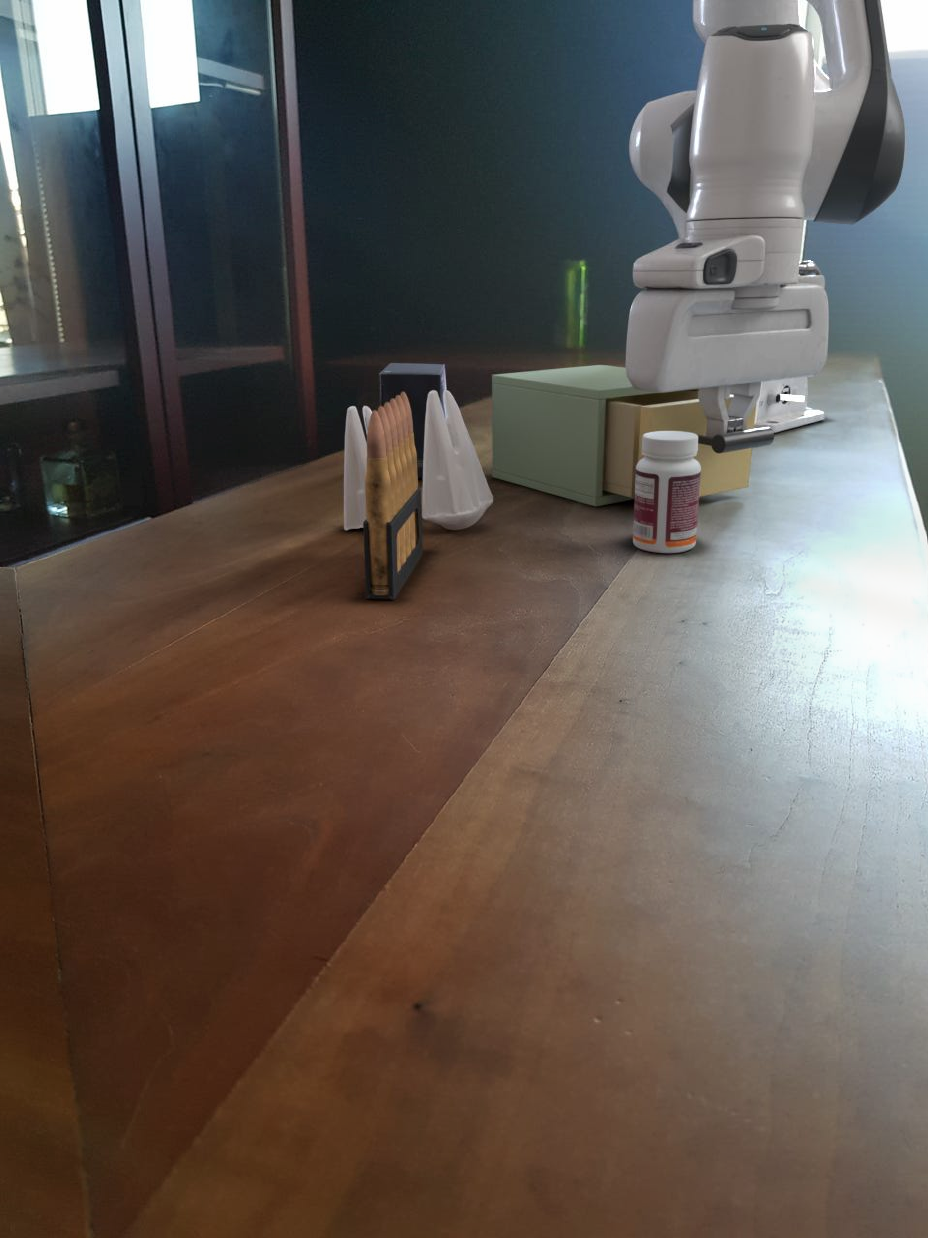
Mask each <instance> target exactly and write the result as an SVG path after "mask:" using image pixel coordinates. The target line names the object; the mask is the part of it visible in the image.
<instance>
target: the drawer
mask: <svg viewBox="0 0 928 1238" xmlns="http://www.w3.org/2000/svg"><path fill="white" fill-rule="evenodd" d="M698 391H699V390H692V389H691V390H683V391H674V392H665V393H652V394H644V395H635V396H627V397H618V398H610V399H605V400H606V407H605V434H604V460H603V486H602V490H604V491H608V492H611V493H615V494H619V495H623V496H626V497H630V498H633V497H635V480H636V479H635V477H636V466H637V464H638V462H639V461H640V460H641V459H643V458H644V457H645V456H644V455H643V454H642V436H643V435H644V434H646V433H649V432H656V431H683V432H690V433H694V434H696V435H698V451H697V455H696V456H694V457H693V458H694V459H695V460H697V461H698V462H699V464H700V466H701V478H700V490H699V498H703V497H705V496H706V497H707V496H711V495H716V494H721V493H726V492H730V491H736V490H741V489H745V488H749V486H750V475H751V465H752V455H753V454H752V453H753V449H754V448H759V447H764V446H765V447H766V446H769V445H772V443H773V442H774V441H775V433H774V432H773V430H772V429H771V428H769V427H763V428H757V429H754V423H755V413H756V404H755V406H754V408H753V410H752V412H751V414H750V416H749V417H748V419H747V429H746V430H744V431H738V432H731V433H725V434H718V435H715V436H714V437H708V436H706V428H707V418H706V417H705V414H704V412H703V409H702V407H701V404H700V402H699V399H698ZM732 398H733V395H730V398H729V399H724V401H725V405H726V409H727V410H728V408H729V405H730V403H731V400H732Z"/></svg>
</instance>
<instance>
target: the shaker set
mask: <svg viewBox="0 0 928 1238" xmlns="http://www.w3.org/2000/svg"><path fill="white" fill-rule="evenodd" d="M443 401H444V409H445V416H446V419H445V416H444V413H443V409H442V406H441V402H440V399H439V396H438V393H437V391H435V390H433V391H430V392H429V393H428V398H427V405H426V417H425V437H424V460H423V478H422V494H421V509H422V520H425V521H426V522H431V523H433V524H436V525H439V526H440V527H442V528H444V529H446V530H450V531H460V530H465V529H468V528H469V527H471V526H473V525H475V524H476V523H477V522H478V521H480V519H481V518H482V517H483V515H484V514H485V512H486V511H487V509H488V508H489V507H490V506H491V505H492V504H493V503H494V496H493V493H492V491H491V488H490V487H489V484H488V481H487V478H486V476H485V473H484V471H483V467H482V464H481V462H480V459H479V456H478V454H477V451H476V448H475V446H474V444H473V441H472V439H471V436H470V434H469V431H468V429H467V426H466V424H465V421H464V418H463V416H462V413H461V410H460V407H459V405H458V403H457V401H456V400H455V397H454V396H453V394H452V393H451V391H449V390H447V389H446V390H445V391H444V392H443ZM372 411H373V410H371V408H370V407H369V406H367V405H363V407H362V416H363V422H364V427H365V431H366V434H367V431H368V425H369V420H370V416H371V414H372ZM345 417H346V418H345V431H344V456H343V457H344V462H343V463H344V464H343V530H344V531H349V530H353V529H356V530H359V529H360V528H361V529H362V528H363V522H364V521H365V520H366V519H367V518H366V496H365V477H366V470H367V439H366V437H365V432H364V429H363V425H362V422H361V418H360V415H359V412H358V409H357V407H356V406H355V405H352V406H349V407H348V408H347V410H346V416H345Z"/></svg>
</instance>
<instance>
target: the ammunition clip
mask: <svg viewBox="0 0 928 1238" xmlns="http://www.w3.org/2000/svg"><path fill="white" fill-rule="evenodd" d="M371 411H372V414H371V416H370V420H369V425H368V431H367V433H366V444H367V470H366V477H365V496H366V518H367V519H366V520H365V521H364V522H363V531H362V532H363V552H364V553H363V554H364V580H365V599H366V600H386V601H387V600H388V601H393V600H394V601H395V599H396V598H397V596H398V594H399V593H400V591H401V590H402V588H403V587H404V585H405V583H406V582H407V580H408V579H409V577H410V576H411V574H412V572H413V570H414V569H415V567H416V566H417V564H418V563H419V561H420V559H421V558H422V556H423V555H424V543H423V517H422V487H421V486H419V480H418V479H419V478H418V474H417V453H416V448H415V444H414V433H413V421H412V414H411V408H410V404H409V401H408V398H407V395H406V393H405V392H402V393H401V395H397V396H396V398H395V399H394V398H392V399H391V400H390V403H388V402H386V403H385V405H384V407H382V406H380V405H379V406H378V409H373V410H371Z"/></svg>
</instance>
